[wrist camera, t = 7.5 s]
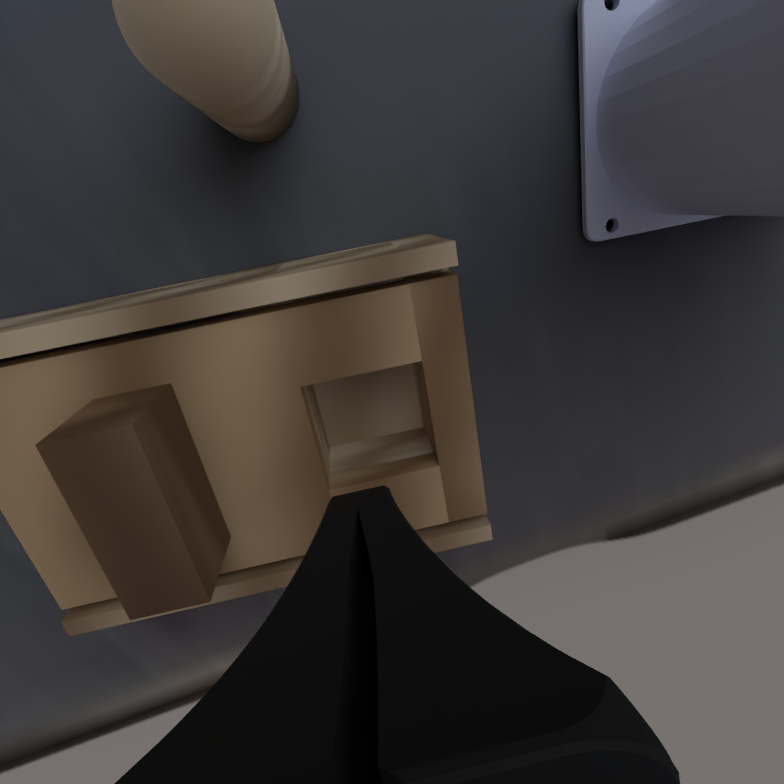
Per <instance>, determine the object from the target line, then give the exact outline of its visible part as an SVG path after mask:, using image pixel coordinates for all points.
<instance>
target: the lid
mask: <svg viewBox="0 0 784 784" xmlns="http://www.w3.org/2000/svg"><path fill="white" fill-rule="evenodd" d="M415 362H419V368H420V373H421V379H422V385H423V391H424V397H425V403H426V409H427V415H428V421H429V427H430V432H431V438H432V444H433V450H434V452H433V453H429V454H424V455H420V456H415V457H410V458H406V459H401V460H397V461H392V462H388V463H383V464H379V465H374V466H370V467H365V468H361V469H356V470H351V471H347V472H342V473H338V474H333V475H329V472H328V469H327V465H326V461H325V458H324V454H323V451H322V447H321V443H320V440H319V436H318V432H317V429H316V425H315V421H314V418H313V414H312V410H311V407H310V403H309V399H308V396H307V392H306V388H305V386H307V385H311V384H316V383H321V382H325V381H330V380H335V379H340V378H344V377H349V376H354V375H358V374H363V373H368V372H373V371H377V370H382V369H387V368H391V367H396V366H401V365H406V364H410V363H415ZM383 485H385V486H386V487H388V488H390V492H391V494H392V496H393V499H394V500H395V502H396V504H397V506H398V507H399V509H400V511H401V512H402V514H403V515H404V517H405V518H406V519H407V521H408V522H409V524H410V525H411V526H412V527H413V529H414V530H417V529H421V528H426V527H430V526H435V525H439V524H443V523H448V522H452V521H457V520H461V519H465V518H470V517H474V516H479V515H483V514H487V506H486V498H485V490H484V482H483V474H482V466H481V459H480V451H479V443H478V435H477V427H476V419H475V411H474V403H473V395H472V387H471V379H470V371H469V363H468V356H467V348H466V340H465V332H464V324H463V316H462V308H461V300H460V292H459V284H458V276H457V274H456V273H454V272H452V271H450V270H448V271H444V272H439V273H434V274H429V275H424V276H419V277H414V278H409V279H404V280H400V281H395V282H390V283H385V284H380V285H375V286H370V287H365V288H361V289H356V290H351V291H346V292H341V293H336V294H331V295H326V296H322V297H317V298H312V299H307V300H302V301H297V302H292V303H287V304H282V305H278V306H273V307H268V308H263V309H258V310H253V311H248V312H243V313H239V314H234V315H229V316H224V317H219V318H214V319H209V320H204V321H200V322H195V323H190V324H185V325H180V326H175V327H170V328H165V329H161V330H156V331H151V332H146V333H141V334H136V335H131V336H126V337H121V338H117V339H112V340H107V341H102V342H97V343H92V344H87V345H82V346H78V347H73V348H68V349H63V350H58V351H53V352H48V353H43V354H39V355H34V356H29V357H24V358H19V359H14V360H9V361H4V362H0V510H1V512H2V513H3V515H4V517H5V518H6V520H7V522H8V523H9V525H10V526H11V528H12V530H13V531H14V533H15V535H16V536H17V538H18V539H19V541H20V543H21V544H22V546H23V548H24V549H25V551H26V553H27V554H28V556H29V557H30V559H31V561H32V562H33V564H34V566H35V567H36V569H37V571H38V572H39V574H40V575H41V577H42V579H43V580H44V582H45V584H46V585H47V587H48V589H49V590H50V592H51V593H52V595H53V597H54V598H55V600H56V602H57V603H58V605H59V607H60V608H61V610H64V609H68V608H73V607H77V606H81V605H86V604H90V603H95V602H99V601H103V600H108V599H112V598H117V597H118V599H119V601H120V603H121V605H122V606H123V608H124V610H125V612H126V614H127V616H128V617H129V619H130V620H134V619H138V618H143V617H147V616H151V615H156V614H160V613H165V612H169V611H173V610H178V609H182V608H186V607H191V606H195V605H200V604H204V603H208V602H211V599H212V596H213V592H214V589H215V586H216V583H217V580H218V577H219V574H223V573H227V572H231V571H236V570H240V569H245V568H249V567H254V566H258V565H262V564H267V563H271V562H276V561H280V560H284V559H289V558H293V557H298V556H302V555H305V554H306V552H307V550H308V548H309V546H310V544H311V542H312V540H313V538H314V536H315V534H316V531H317V529H318V527H319V525H320V523H321V520H322V518H323V516H324V513H325V511H326V508H327V505H328V503H329V501H330V500H331V498H332V497H333V496H338V495H342V494H347V493H351V492H356V491H360V490H365V489H369V488H374V487H378V486H383Z"/></svg>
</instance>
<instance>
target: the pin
mask: <svg viewBox="0 0 784 784" xmlns="http://www.w3.org/2000/svg"><path fill="white" fill-rule="evenodd" d="M112 4H113V9H114V13H115V17H116V20H117V23H118V25H119V28H120V31H121V33H122V35H123V37H124V39H125V41H126V43H127V45H128V46H129V48H130V49H131V51H132V52H133V54H134V55H135V57H136V58H137V59H138V60H139V62H140V63H141V64H142V65H143V66H144V67H145V68H146V69H147V70H148V71H149V72H150V73H151V74H152V75H153V76H155V77H156V78H157V79H158V80H159V81H161V82H162V83H164V84H165V85H166V86H168V87H169V88H170V89H172V90H173V91H174V92H176V93H177V94H178V95H180V96H181V97H183V98H184V99H185V100H187V101H188V102H189V103H191V104H192V105H193V106H195V107H196V108H197V109H199V110H200V111H202V112H203V113H204V114H206V115H207V116H208V117H210V118H211V119H212V120H214V121H215V122H217V123H218V124H219V125H221V126H222V127H223V128H225V129H226V130H227V131H229V132H230V133H232V134H233V135H235V136H236V137H238V138H240V139H242V140H245V141H249V142H255V143H262V142H268V141H272V140H274V139H276V138H278V137H280V136H281V135H282V134H284V133H285V132H286V131H287V130H288V129H289V127H290V126H291V124H292V123H293V121H294V119H295V117H296V114H297V111H298V106H299V87H298V82H297V78H296V75H295V71H294V68H293V65H292V61H291V58H290V54H289V51H288V48H287V44H286V41H285V37H284V34H283V30H282V27H281V24H280V20H279V17H278V13H277V10H276V6H275V3H274V0H112Z"/></svg>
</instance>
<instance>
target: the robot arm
mask: <svg viewBox="0 0 784 784" xmlns="http://www.w3.org/2000/svg"><path fill="white" fill-rule="evenodd" d="M604 1H605V0H580V1H579V3H578V10H577V14H578V55H579V97H580V139H581V180H582V222H583V234H584V236H585V237H586V239H588V240H590V241H604V240H609V239H614V238H618V237H623V236H628V235H633V234H638V233H643V232H648V231H653V230H657V229H662V228H667V227H672V226H677V225H682V224H687V223H692V222H696V221H701V220H706V219H711V218H716V217H721V216H726V215H729V216H784V0H613V8H612V11H610V10H608V9H607V8H606V7H605V3H604ZM609 219H612V220H613V228H612V229H611V230H610V231H607V230H606V223H607V222H608V220H609ZM115 784H680V779H679V772H678V770H677V769H676V767H675V766H674V764H673V762H672V761H671V759H670V756H669V755H668V753H667V751H666V750H665V748H664V746H663V745H662V743H661V742H660V740H659V739H658V737H657V736H656V735H655V733H654V732H653V731H652V729H651V728H650V727H649V725H648V724H647V723H646V721H645V720H644V719H643V717H642V716H641V715H640V713H639V712H638V711H637V710H636V708H635V707H634V706H633V705H632V703H631V702H630V701H629V700H628V698H627V697H626V696H625V695H624V694H623V693H622V691H621V690H620V689H619V688H618V687H617V685H616V684H615V683H614V682H613V681H612V680H611V679H610V678H609V677H608V676H606V675H604V674H602V673H600V672H599V671H596V670H595V669H593V668H591V667H589V666H587V665H585V664H583V663H582V662H579V661H578V660H576V659H574V658H572V657H570V656H568V655H567V654H565V653H563V652H561V651H560V650H558V649H556V648H554V647H553V646H551V645H550V644H548V643H547V642H545V641H543V640H542V639H540V638H539V637H537V636H535V635H534V634H532V633H530V632H529V631H527V630H526V629H524V628H523V627H522V626H520V625H519V624H517V623H516V622H514V621H513V620H512V619H510V618H509V617H508V616H506V615H505V614H503V613H502V612H501V611H499V610H498V609H496V608H495V607H494V606H492V605H491V604H489V603H488V602H487V601H486V600H484V599H483V598H482V597H481V596H480V595H478V594H477V593H476V592H475V591H473V590H472V589H471V588H470V587H469V586H468V585H466V584H465V583H464V582H463V581H462V580H461V579H460V578H459V577H458V576H456V575H455V574H454V573H453V572H452V571H451V570H450V569H449V568H448V567H447V566H446V565H445V564H444V563H443V562H442V561H441V560H440V559H439V558H438V557H437V556H436V555H435V553H434V552H433V551H432V550H431V549H430V548H429V547H428V546H427V545H426V543H425V542H424V541H423V540H422V539H421V538H420V536H419V535H418V534H417V532H416V531H415V530H414V529H413V527H412V526H411V525H410V524H409V522H408V521H407V519H406V518H405V517H404V515H403V514H402V512H401V511H400V509H399V507H398V506H397V504H396V502H395V500H394V499H393V496H392V494H391V492H390V488H388V487H386V486H385V485H383V486H378V487H374V488H369V489H365V490H360V491H356V492H351V493H347V494H342V495H338V496H333V497H332V498H331V500H330V501H329V503H328V505H327V508H326V511H325V513H324V516H323V518H322V520H321V523H320V525H319V527H318V529H317V531H316V534H315V536H314V538H313V540H312V542H311V544H310V546H309V548H308V550H307V552H306V554H305V556H304V558H303V560H302V562H301V564H300V565H299V567H298V569H297V571H296V572H295V574H294V576H293V578H292V579H291V581H290V583H289V584H288V586H287V588H286V590H285V591H284V593H283V595H282V596H281V598H280V599H279V601H278V602H277V604H276V606H275V607H274V609H273V610H272V612H271V613H270V615H269V616H268V617H267V619H266V620H265V622H264V623H263V625H262V626H261V627H260V629H259V630H258V632H257V633H256V634H255V636H254V637H253V638H252V640H251V641H250V642H249V643H248V645H247V646H246V647H245V649H244V650H243V651H242V652H241V654H240V655H239V656H238V657H237V658H236V660H235V661H234V662H233V663H232V665H231V666H230V667H229V668H228V669H227V671H226V672H225V673H224V674H223V676H222V677H221V678H220V679H219V680H218V681H217V682H216V684H215V685H214V686H213V687H212V688H211V689H210V690H209V691H208V692H207V693H206V695H205V696H204V697H203V698H202V699H201V700H200V701H199V702H198V703H197V704H196V705H195V706H194V707H193V708H192V709H191V711H190V712H189V713H188V714H187V715H186V716H185V717H184V718H183V719H182V720H181V721H180V722H179V723H178V724H177V725H176V726H175V727H174V728H173V729H172V730H171V731H170V732H169V733H168V734H167V735H166V736H165V737H164V738H163V739H162V740H161V741H160V742H159V743H158V744H157V745H156V746H155V747H153V748H152V749H151V750H150V751H149V752H148V753H147V754H146V755H145V756H144V757H143V758H142V759H141V760H140V761H138V762H137V763H136V764H135V765H134V766H133V767H132V768H131V769H130V770H129V771H128V772H127V773H125V775H123V776H122V777H121V778H120V779H119V780H118V781H117V782H116V783H115Z"/></svg>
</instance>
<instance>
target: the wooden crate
mask: <svg viewBox="0 0 784 784" xmlns="http://www.w3.org/2000/svg"><path fill="white" fill-rule="evenodd" d="M453 266H458V258H457V250H456V242H455V241H454V240H450V239H446V238H442V237H438V236H435V235H431V234H422V235H417V236H412V237H407V238H402V239H397V240H392V241H387V242H382V243H377V244H372V245H367V246H362V247H357V248H352V249H348V250H343V251H338V252H333V253H328V254H323V255H318V256H313V257H308V258H303V259H298V260H293V261H288V262H283V263H278V264H273V265H268V266H263V267H258V268H253V269H248V270H243V271H238V272H233V273H228V274H223V275H218V276H213V277H209V278H204V279H199V280H194V281H189V282H184V283H179V284H174V285H169V286H164V287H159V288H154V289H149V290H144V291H139V292H134V293H129V294H124V295H119V296H114V297H109V298H104V299H99V300H94V301H89V302H84V303H79V304H74V305H69V306H65V307H60V308H55V309H50V310H45V311H40V312H35V313H30V314H25V315H20V316H15V317H10V318H5V319H1V320H0V362H4V361H9V360H14V359H19V358H24V357H29V356H34V355H39V354H43V353H48V352H53V351H58V350H63V349H68V348H73V347H78V346H82V345H87V344H92V343H97V342H102V341H107V340H112V339H117V338H121V337H126V336H131V335H136V334H141V333H146V332H151V331H156V330H161V329H165V328H170V327H175V326H180V325H185V324H190V323H195V322H200V321H204V320H209V319H214V318H219V317H224V316H229V315H234V314H239V313H243V312H248V311H253V310H258V309H263V308H268V307H273V306H278V305H282V304H287V303H292V302H297V301H302V300H307V299H312V298H317V297H322V296H326V295H331V294H336V293H341V292H346V291H351V290H356V289H361V288H365V287H370V286H375V285H380V284H385V283H390V282H395V281H400V280H404V279H409V278H414V277H419V276H424V275H429V274H434V273H439V272H444V271H448V267H453ZM305 388H306V392H307V396H308V399H309V403H310V407H311V410H312V414H313V418H314V421H315V425H316V429H317V432H318V436H319V440H320V443H321V447H322V451H323V454H324V458H325V461H326V465H327V469H328V472H329V475H333V474H338V473H342V472H347V471H351V470H356V469H361V468H365V467H370V466H374V465H379V464H383V463H388V462H392V461H397V460H401V459H406V458H410V457H415V456H420V455H424V454H429V453H433V452H434V450H433V444H432V438H431V432H430V427H429V421H428V415H427V409H426V403H425V397H424V391H423V385H422V379H421V373H420V368H419V362H415V363H410V364H406V365H401V366H396V367H391V368H387V369H382V370H377V371H373V372H368V373H363V374H358V375H354V376H349V377H344V378H340V379H335V380H330V381H325V382H321V383H316V384H311V385H307V386H305ZM415 531H416V532H417V534H418V535H419V536H420V538H421V539H422V540H423V541H424V542H425V543H426V545H427V546H428V547H429V548H430V549H431V550H432V551H433V552H434V553H436V552H441V551H445V550H449V549H454V548H458V547H462V546H467V545H471V544H476V543H480V542H484V541H489V540H493V539H492V531H491V524H490V522H489V520H488V518H487V516H486V514H483V515H479V516H474V517H470V518H465V519H461V520H457V521H452V522H448V523H443V524H439V525H435V526H430V527H426V528H421V529H417V530H415ZM304 556H305V555H302V556H298V557H293V558H289V559H284V560H280V561H276V562H271V563H267V564H262V565H258V566H254V567H249V568H245V569H240V570H236V571H231V572H227V573H223V574H219V577H218V580H217V583H216V586H215V589H214V592H213V596H212V599H211V602H208V603H204V604H200V605H195V606H191V607H186V608H182V609H178V610H173V611H169V612H165V613H160V614H156V615H151V616H147V617H143V618H138V619H134V620H130V619H129V617H128V616H127V614H126V612H125V610H124V608H123V606H122V605H121V603H120V601H119V599H118V597H117V598H112V599H108V600H103V601H99V602H95V603H90V604H86V605H81V606H77V607H73V608H70V610H69V611H68V613H67V614H66V616H65V617H64V619H63V620H62V622H61V624H62V625H63V627H64V629H65V630H66V632H67V633H68V635H69V636H74V635H78V634H82V633H87V632H91V631H95V630H100V629H104V628H109V627H113V626H117V625H122V624H126V623H130V622H135V621H139V620H143V619H148V618H152V617H157V616H161V615H165V614H170V613H174V612H178V611H183V610H187V609H192V608H196V607H200V606H205V605H209V604H213V603H218V602H222V601H227V600H231V599H235V598H240V597H244V596H248V595H253V594H257V593H261V592H266V591H270V590H275V589H279V588H283V587H287V586H288V584H289V583H290V581H291V579H292V578H293V576H294V574H295V572H296V571H297V569H298V567H299V565H300V564H301V562H302V560H303V558H304Z"/></svg>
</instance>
